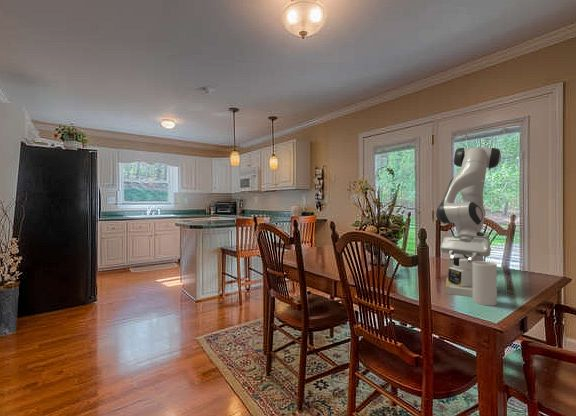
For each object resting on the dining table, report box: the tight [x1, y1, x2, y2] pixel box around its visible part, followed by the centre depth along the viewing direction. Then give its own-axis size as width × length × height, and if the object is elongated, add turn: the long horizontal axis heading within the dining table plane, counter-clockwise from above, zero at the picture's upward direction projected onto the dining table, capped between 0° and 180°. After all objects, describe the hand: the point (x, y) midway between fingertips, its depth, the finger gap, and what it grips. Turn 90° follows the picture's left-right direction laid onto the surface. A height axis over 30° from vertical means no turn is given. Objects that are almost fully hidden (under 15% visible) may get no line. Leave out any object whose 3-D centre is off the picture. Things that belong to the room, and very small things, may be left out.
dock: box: [445, 276, 473, 298], centre depth 140 cm, size 18×12×3 cm, turn 152°
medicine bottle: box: [447, 257, 473, 287], centre depth 138 cm, size 7×7×12 cm
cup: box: [472, 260, 498, 307], centre depth 123 cm, size 8×8×16 cm
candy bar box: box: [381, 252, 394, 277], centre depth 168 cm, size 11×5×16 cm, turn 168°
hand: (460, 260), depth 137 cm, fingers open, 6 cm apart
